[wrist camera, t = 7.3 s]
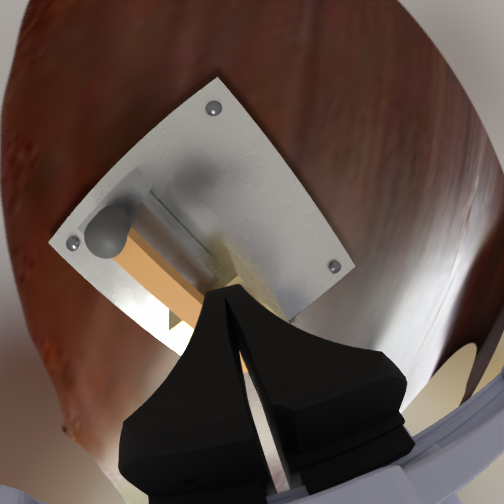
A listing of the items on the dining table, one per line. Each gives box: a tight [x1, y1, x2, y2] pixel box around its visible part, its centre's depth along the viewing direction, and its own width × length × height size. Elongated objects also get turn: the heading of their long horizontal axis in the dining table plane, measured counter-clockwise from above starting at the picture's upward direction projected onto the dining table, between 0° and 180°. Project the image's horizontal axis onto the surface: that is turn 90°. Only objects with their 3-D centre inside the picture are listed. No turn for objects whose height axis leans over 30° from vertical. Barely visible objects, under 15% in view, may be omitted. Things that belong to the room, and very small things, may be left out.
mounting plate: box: [48, 77, 355, 355], centre depth 21 cm, size 18×16×1 cm
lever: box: [84, 206, 248, 373], centre depth 15 cm, size 12×3×2 cm, turn 38°
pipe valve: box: [78, 167, 290, 346], centre depth 19 cm, size 18×6×5 cm, turn 38°
